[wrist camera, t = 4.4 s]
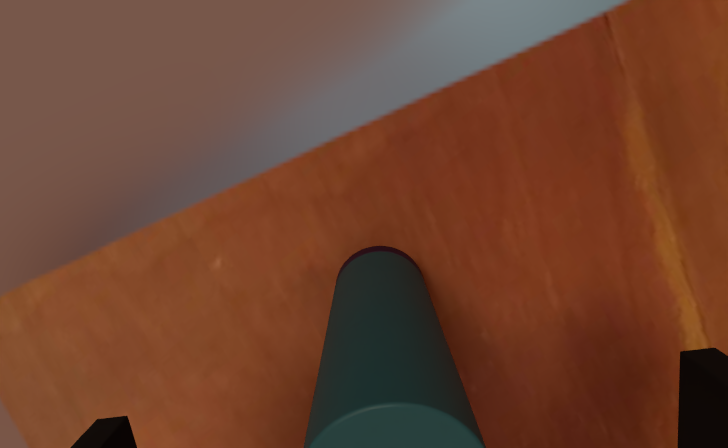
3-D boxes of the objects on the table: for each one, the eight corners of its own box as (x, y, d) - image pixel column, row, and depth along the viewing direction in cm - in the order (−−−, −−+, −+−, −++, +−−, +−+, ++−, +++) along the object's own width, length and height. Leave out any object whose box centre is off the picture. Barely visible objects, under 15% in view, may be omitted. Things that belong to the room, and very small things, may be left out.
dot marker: (343, 333, 20) (314, 579, 9) (329, 252, 19) (279, 416, 8) (427, 322, 20) (502, 558, 9) (418, 240, 19) (487, 392, 8)
